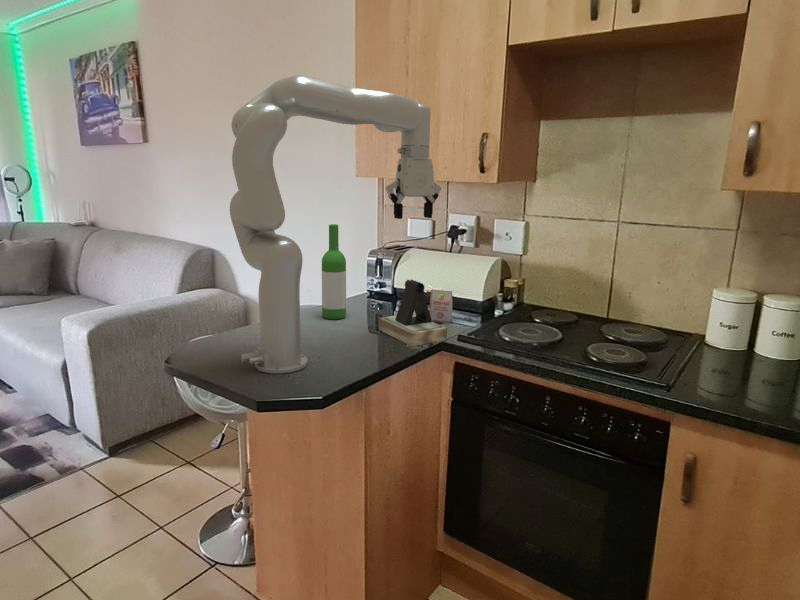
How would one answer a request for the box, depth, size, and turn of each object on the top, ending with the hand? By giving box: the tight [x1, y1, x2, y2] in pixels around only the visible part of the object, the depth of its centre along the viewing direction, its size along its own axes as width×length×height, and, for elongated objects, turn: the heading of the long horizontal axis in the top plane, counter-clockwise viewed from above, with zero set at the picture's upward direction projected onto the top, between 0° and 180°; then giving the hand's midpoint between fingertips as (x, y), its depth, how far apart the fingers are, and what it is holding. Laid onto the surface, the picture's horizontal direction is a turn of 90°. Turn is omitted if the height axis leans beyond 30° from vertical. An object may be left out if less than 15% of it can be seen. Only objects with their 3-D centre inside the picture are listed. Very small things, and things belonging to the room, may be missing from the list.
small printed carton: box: [429, 289, 454, 324], centre depth 172 cm, size 4×7×10 cm, turn 74°
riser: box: [378, 313, 448, 347], centre depth 156 cm, size 12×18×4 cm, turn 32°
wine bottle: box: [321, 224, 347, 320], centre depth 170 cm, size 8×8×30 cm
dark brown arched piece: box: [395, 279, 433, 326], centre depth 154 cm, size 9×6×12 cm, turn 119°
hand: (413, 218), depth 146 cm, fingers open, 9 cm apart
